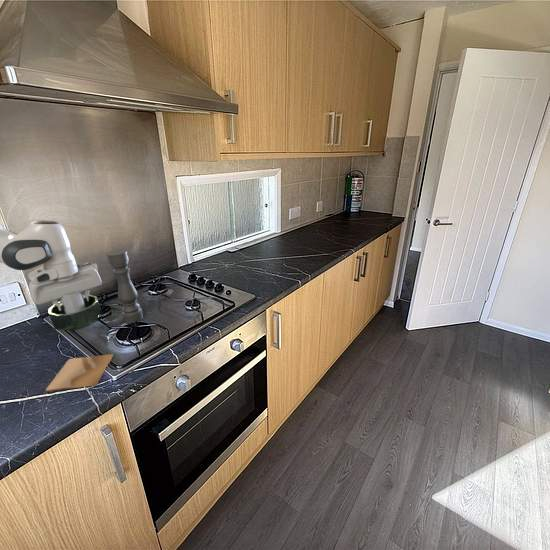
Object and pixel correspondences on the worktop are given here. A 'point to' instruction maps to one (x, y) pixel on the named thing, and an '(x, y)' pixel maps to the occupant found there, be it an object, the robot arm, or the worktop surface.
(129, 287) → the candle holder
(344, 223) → the worktop surface
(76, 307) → the cup
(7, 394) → the worktop surface
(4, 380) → the worktop surface
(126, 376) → the worktop surface
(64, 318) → the bowl
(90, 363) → the mat
